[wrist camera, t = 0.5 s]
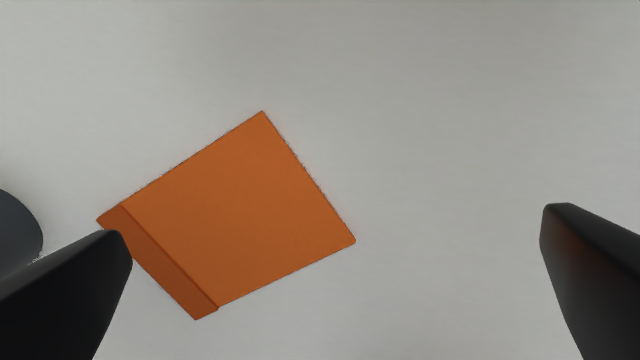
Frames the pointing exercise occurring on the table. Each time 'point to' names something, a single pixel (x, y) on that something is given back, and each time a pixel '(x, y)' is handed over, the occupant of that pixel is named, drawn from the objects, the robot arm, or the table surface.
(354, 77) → the table surface
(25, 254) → the gray travel mug
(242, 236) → the rag
